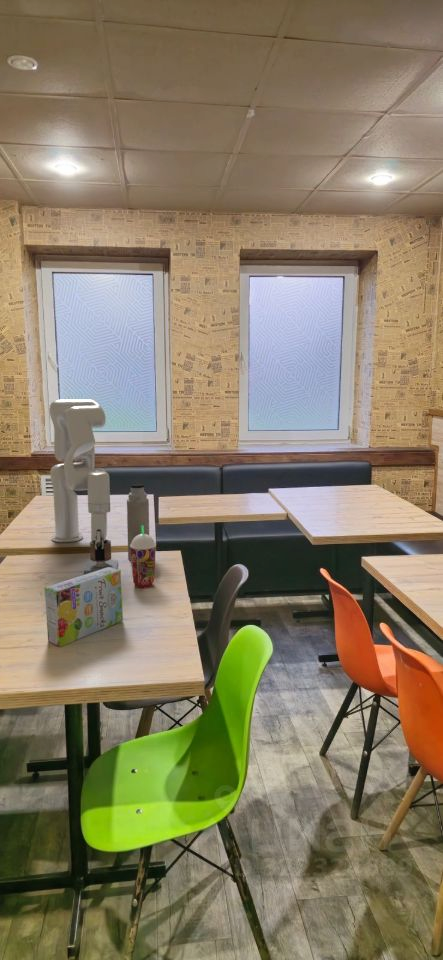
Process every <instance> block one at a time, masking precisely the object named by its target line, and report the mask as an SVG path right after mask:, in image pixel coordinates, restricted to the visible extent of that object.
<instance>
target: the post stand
mask: <svg viewBox="0 0 443 960" xmlns="http://www.w3.org/2000/svg"><path fill="white" fill-rule="evenodd" d="M85 562H86V563H85V566H84V568H83V575H85V574H88V573H92V572H95V571H98V570H101V569H104V568H107V567H111V568H114V569H117V570H118V566H119V561H118V559H111V560H108V561H104V562H95V561H91V560H86V561H85Z"/></svg>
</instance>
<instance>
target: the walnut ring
mask: <svg viewBox="0 0 443 960" xmlns="http://www.w3.org/2000/svg"><path fill="white" fill-rule="evenodd" d="M101 540H102V539H101ZM101 543H102V542H101ZM111 543H112V540H110V539H106V540H105V541H104V549H105V560H99V561H96V560H95V541H93V542H92V541H91V540H90V542H89V555H90V560H89V561H95V562H104V561H108V560H112V544H111Z"/></svg>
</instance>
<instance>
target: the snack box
mask: <svg viewBox="0 0 443 960" xmlns="http://www.w3.org/2000/svg"><path fill="white" fill-rule="evenodd" d="M121 573H122V572H121V570H120V569H118V568H117V569H114V568H111V567H107V568H104V569H101V570H98V571H95V572H92V573H88V574H85V575H84V574H82V575H79V576H77V577H73V578H71V579H67V580H63V581H60V582H57V583H54V584H52V585H48V586H45V587H44V598H45V615H46V625H47V626H46V627H47V630H46V631H47V641H48V643H51V644H53V645H55V646H57V647H59V648H60V647H64V646H65V645H68V644H71V643H72V642H75V641H77V640H79V639H82V638H85V637H87V636H90V635H92V634H94V633H97V632H99V631H101V630H104V629H106V628H109V627H112V626H114V625H116V624H119V623H122V622H123V620H124V619H123V617H124V616H123V598H122V597H123V596H122V595H123V594H122V574H121Z"/></svg>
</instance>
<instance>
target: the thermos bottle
mask: <svg viewBox="0 0 443 960" xmlns="http://www.w3.org/2000/svg"><path fill="white" fill-rule="evenodd" d="M147 497H148V494H147V493H146V492H145V484H143V483H132V484H131V485H130V492H129V493H128V497H127V498H128V499H126V512H127V514H126V522H127V523H126V524H127V558H128V560H130V561H131V550H130V544H131V543H132V540H133V539H134V538H135V537H136V536H137V535H139V534H142V526H144V534H147V535H149V536H150V509H149V508H150V503H149V500H150V499H149V498H147Z"/></svg>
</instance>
